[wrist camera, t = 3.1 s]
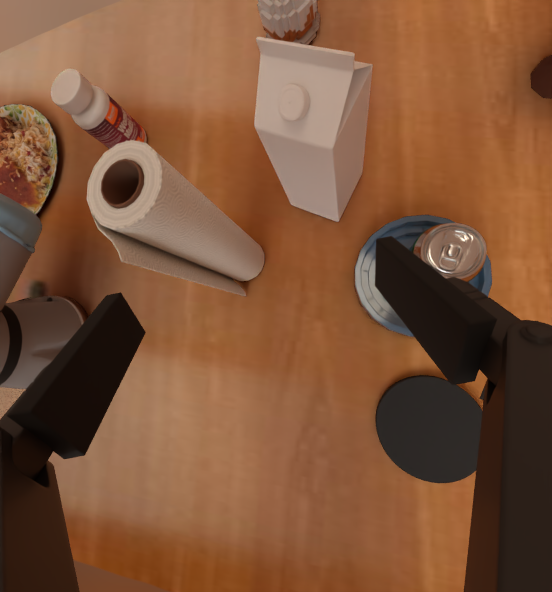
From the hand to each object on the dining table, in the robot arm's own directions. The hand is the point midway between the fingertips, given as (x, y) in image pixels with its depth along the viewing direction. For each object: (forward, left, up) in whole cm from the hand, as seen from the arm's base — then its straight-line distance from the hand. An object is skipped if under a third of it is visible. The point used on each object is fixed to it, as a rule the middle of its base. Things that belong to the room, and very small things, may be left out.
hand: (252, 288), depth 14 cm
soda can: (+12, -4, -21) cm, 25 cm away
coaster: (+3, -18, -21) cm, 28 cm away
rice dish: (-33, +57, -22) cm, 69 cm away
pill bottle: (-8, +41, -22) cm, 47 cm away
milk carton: (+11, +12, -22) cm, 27 cm away
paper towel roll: (-4, +11, -22) cm, 24 cm away
